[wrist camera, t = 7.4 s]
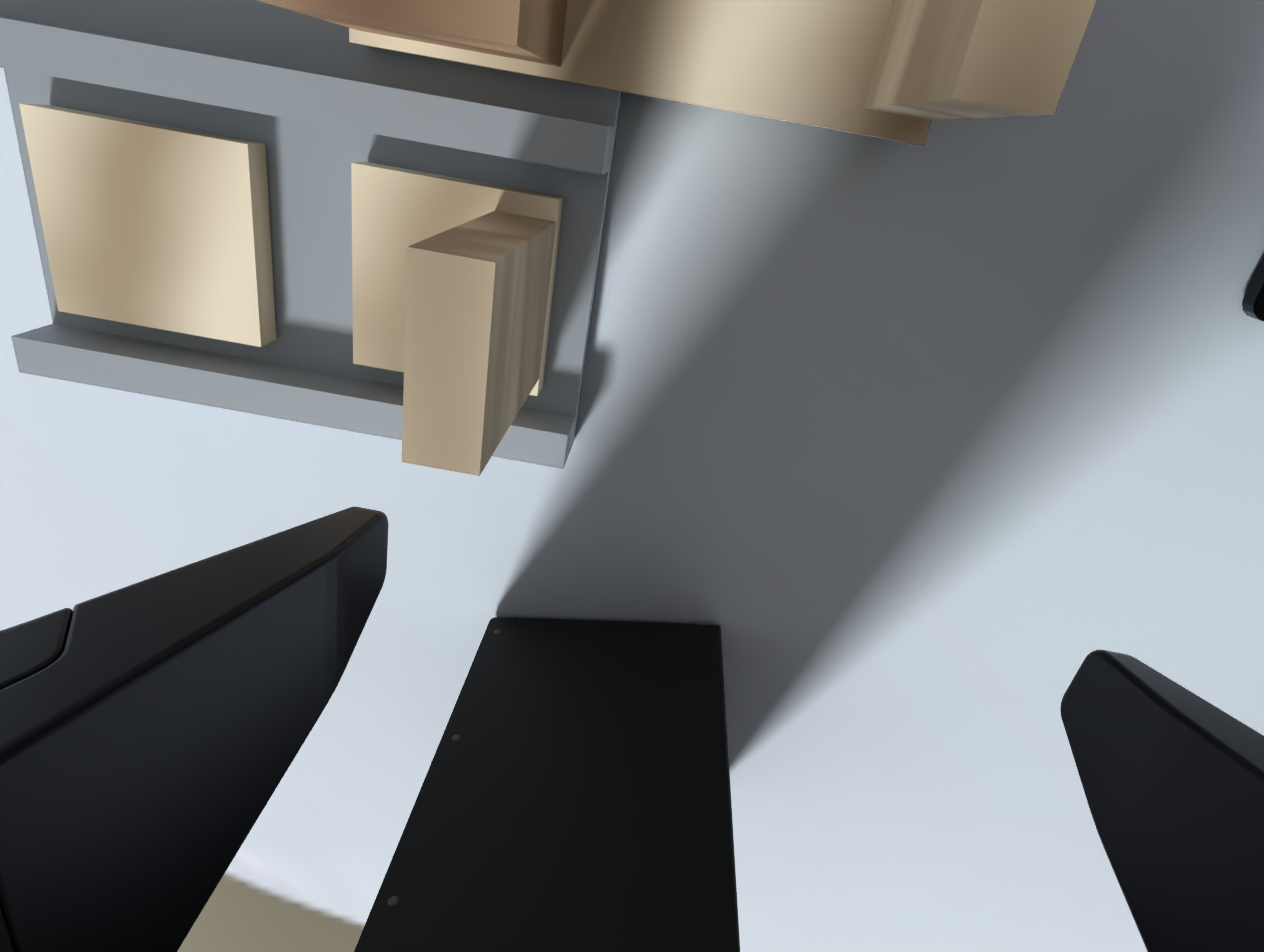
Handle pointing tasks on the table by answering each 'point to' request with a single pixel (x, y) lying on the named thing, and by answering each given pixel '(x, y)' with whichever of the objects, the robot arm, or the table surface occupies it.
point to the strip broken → (243, 277)
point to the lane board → (311, 192)
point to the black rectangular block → (573, 800)
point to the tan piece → (814, 57)
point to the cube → (454, 23)
